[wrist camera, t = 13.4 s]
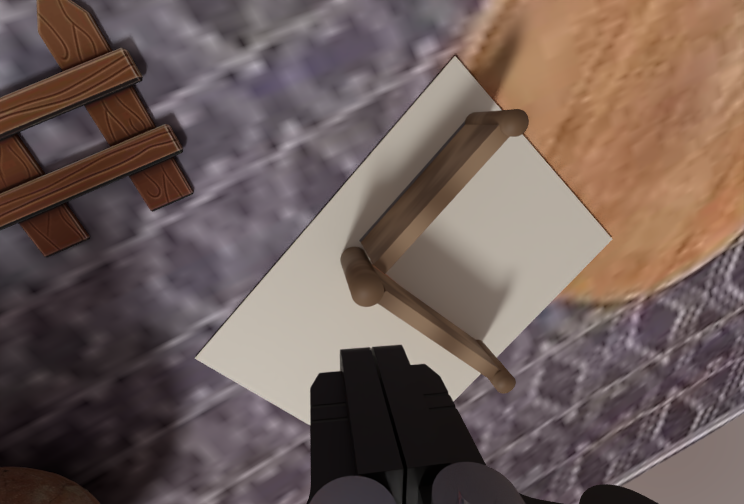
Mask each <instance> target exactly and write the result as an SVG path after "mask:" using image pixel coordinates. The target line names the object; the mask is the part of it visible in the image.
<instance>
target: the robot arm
mask: <svg viewBox="0 0 744 504" xmlns="http://www.w3.org/2000/svg"><path fill="white" fill-rule="evenodd" d="M310 436H311V490H310V495H309V499H308V501H307V504H562V503H556V502H550V501H544V500H539V499H535V498H530V497H528V496H525V495H522V494H520V493H518V491H517V490H516V488H515V487H514V486H513V484H512V483H511V482H510V481H509V480H508V479H507V478H506V477H505V476H503V475H502V474H501V473H499V472H498V471H496V470H494V469H493V468H490V467H488V466H486V464H485V462H484V460H483V458H482V456H481V455H480V453H479V451H478V449H477V447H476V445H475V443H474V441H473V439H472V437H471V435H470V433H469V431H468V429H467V427H466V425H465V423H464V421H463V420H462V418H461V416H460V414H459V412H458V410H457V409H456V408H455V404H454V402H453V400H452V398H451V396H450V395H449V394H448V390H447V388H446V386H445V385H444V383H443V381H442V379H441V377H440V376H439V375H438V374H437V373H436V372H435V371H433V370H432V369H431V368H430V367H428V366H427V365H426V364H416V365H410V362H409V360H408V358H407V355H406V353H405V350H404V348H403V346H402V345H389V346H376V347H372V348H370V347H365V348H352V349H340V371H335V372H323V373H319V374H318V376H317V377H316V379H315V381H314V382H313V384H312V386H311V387H310ZM579 504H658V503H656V502H654V501H653V500H651V499H649V498H647V497H645V496H643V495H641V494H639V493H637V492H635V491H633V490H630V489H627V488H624V487H620V486H616V485H608V484H606V485H596V486H593V487H591V488H589V489H587V490H586V491H585V492H584V493H583V495H582V496H581V499H580V502H579Z"/></svg>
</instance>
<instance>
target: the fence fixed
mask: <svg viewBox="0 0 744 504" xmlns="http://www.w3.org/2000/svg"><path fill="white" fill-rule="evenodd" d="M528 123H529V120H528V116H527V114H526V113H525V112H524V111H523V110H520V109H514V110H500V111H486V112H473V113H471V114H469V115H468V116H467V117H466V119H465V125H464V126H463V127H462V129H461V130H460V131H459V132H458V133H457V134H456V135H455V136H454V138H453V139H452V140H451V141H450V142H449V143H448V144H447V145H446V147H445V148H444V149H443V150H442V151H441V152H440V153H439V155H438V156H437V157H436V158H435V159H434V160H433V161H432V162H431V164H430V165H429V166H428V167H427V168H426V169H425V170H424V171H423V173H422V174H421V175H420V176H419V177H418V178H417V179H416V180H415V182H414V183H413V184H412V185H411V186H410V187H409V188H408V190H407V191H406V192H405V193H404V194H403V195H402V196H401V197H400V199H399V200H398V201H397V202H396V203H395V204H394V205H393V206H392V208H391V209H390V210H389V211H388V212H387V213H386V214H385V216H384V217H383V218H382V219H381V220H380V221H379V222H378V223H377V225H376V226H375V227H374V228H373V229H372V230H371V231H370V232H369V234H368V235H367V236H366V237H365V238H364V239H363V240H362V241H361V244H362V245H363V247H364V249H365V251H366V253H367V254H368V256H369V258H370V260H371V262H372V263H373V265H374V266H375V267H376V268H378V269H379V270H380V271H381V272H383V273H384V274H386V273H387V272H388V270H389V269H390V268H391V267H392V266H393V265H394V264H395V263H396V262H397V261H398V259H399V258H400V257H401V256H402V255H403V254H404V253H405V252H406V251H407V249H408V248H409V247H410V246H411V245H412V244H413V243H414V242H415V241H416V240H417V238H418V237H419V236H420V235H421V234H422V233H423V232H424V231H425V230H426V229H427V227H428V226H429V225H430V224H431V223H432V222H433V221H434V220H435V219H436V217H437V216H438V215H439V214H440V213H441V212H442V211H443V210H444V209H445V208H446V206H447V205H448V204H449V203H450V202H451V201H452V200H453V199H454V198H455V196H456V195H457V194H458V193H459V192H460V191H461V190H462V189H463V188H464V187H465V185H466V184H467V183H468V182H469V181H470V180H471V179H472V178H473V177H474V176H475V174H476V173H477V172H478V171H479V170H480V169H481V168H482V167H483V166H484V164H485V163H486V162H487V161H488V160H489V159H490V158H491V157H492V156H493V155H494V153H495V152H496V151H497V150H498V149H499V148H500V147H501V146H502V145H503V143H504V142H505V141H506V140H507V139H508V138H509V137H517V136H520V135H522V134H523V133H524V132H525V131H526V129H527V127H528ZM365 251H364V250H363V249H361V248H359V247H349V248H347V249H346V250H344V252H343V253H342V255H341V258H340V262H341V265H342V268H343V272H344V275H345V278H346V281H347V284H348V287H349V290H350V293H351V296H352V299H353V300H354V302H355V303H356V304H358V305H359V306H362V307H371V306H374V305H375V304H377V303H378V302H379V301H380V300H381V299H382V297H383V294H384V287H383V284H382V282H381V280H380V279H379V277H378V275H377V273H376V271H375V269H374V268H373V266H372V264H371V262H370V260H369V258H368V257H367V255H366V253H365Z"/></svg>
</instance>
